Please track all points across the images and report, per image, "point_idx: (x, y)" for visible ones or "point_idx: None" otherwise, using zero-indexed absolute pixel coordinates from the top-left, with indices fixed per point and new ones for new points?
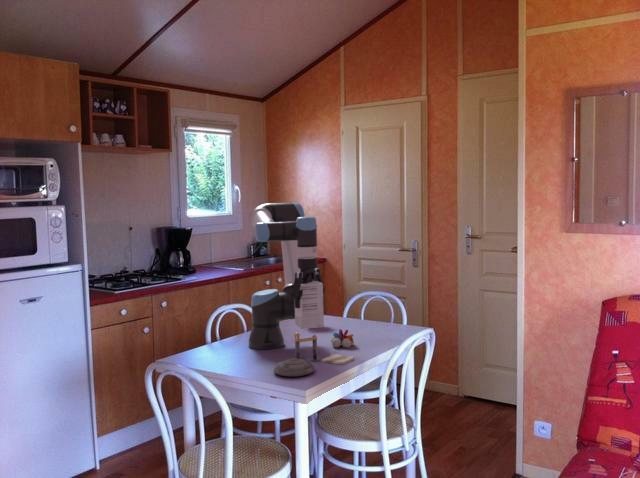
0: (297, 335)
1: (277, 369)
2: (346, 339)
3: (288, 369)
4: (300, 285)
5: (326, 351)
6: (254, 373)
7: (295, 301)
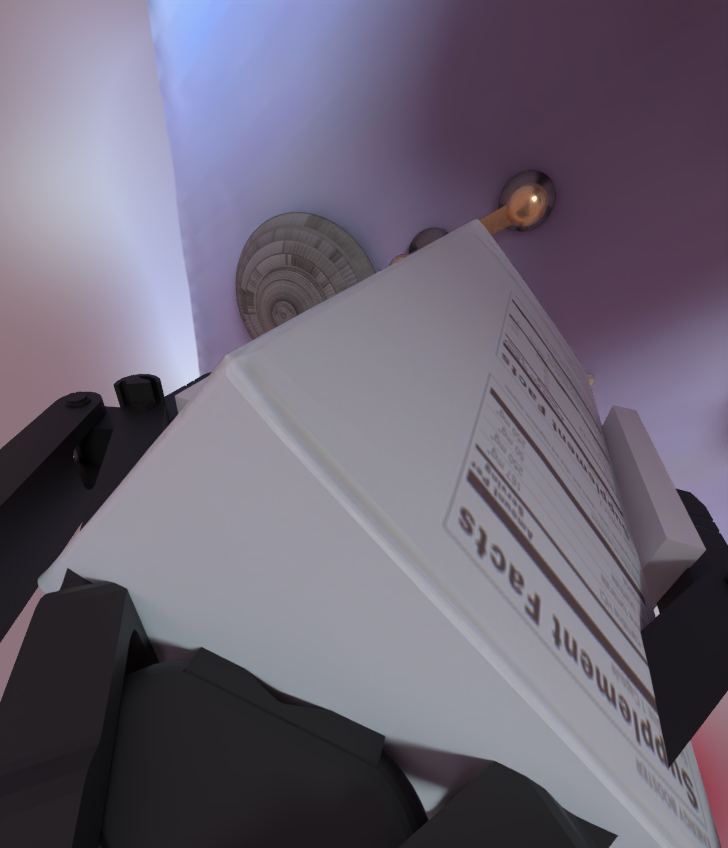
0: (508, 219)
1: (240, 260)
2: None
3: (242, 314)
4: (28, 590)
5: (706, 307)
6: (230, 134)
7: (166, 404)
